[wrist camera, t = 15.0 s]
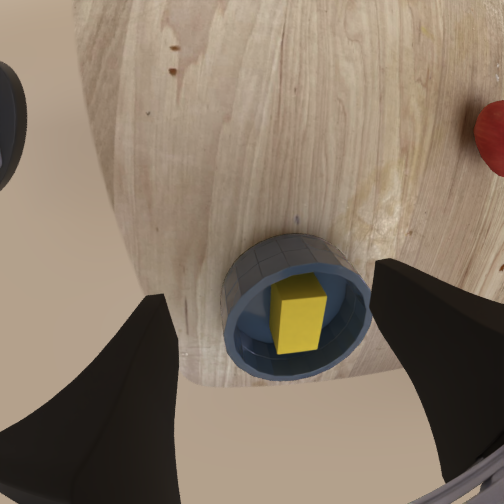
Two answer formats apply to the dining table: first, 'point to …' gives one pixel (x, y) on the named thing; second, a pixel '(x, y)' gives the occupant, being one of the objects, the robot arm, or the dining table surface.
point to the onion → (491, 136)
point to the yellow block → (297, 313)
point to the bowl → (259, 297)
